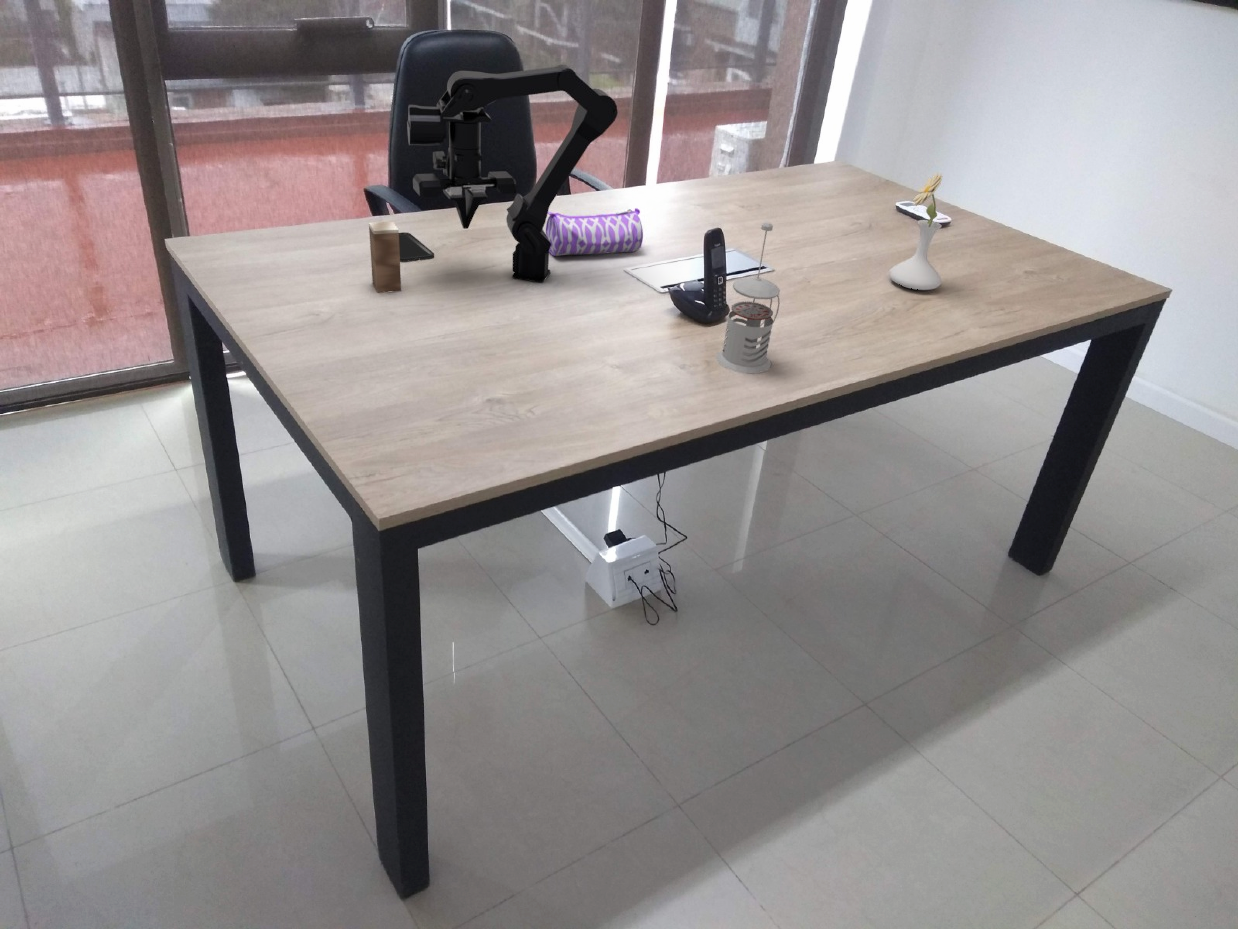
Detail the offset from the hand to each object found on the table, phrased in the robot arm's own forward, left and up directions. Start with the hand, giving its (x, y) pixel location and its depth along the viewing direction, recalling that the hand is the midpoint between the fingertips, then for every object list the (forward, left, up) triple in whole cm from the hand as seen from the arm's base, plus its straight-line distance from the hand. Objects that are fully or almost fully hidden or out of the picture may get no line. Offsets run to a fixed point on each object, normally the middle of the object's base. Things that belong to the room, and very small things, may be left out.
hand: (465, 227), depth 177 cm
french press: (-58, +17, -10) cm, 61 cm away
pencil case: (-21, -25, -10) cm, 34 cm away
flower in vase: (-91, -34, -10) cm, 98 cm away
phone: (+17, -10, -11) cm, 22 cm away
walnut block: (+12, +11, -10) cm, 19 cm away
